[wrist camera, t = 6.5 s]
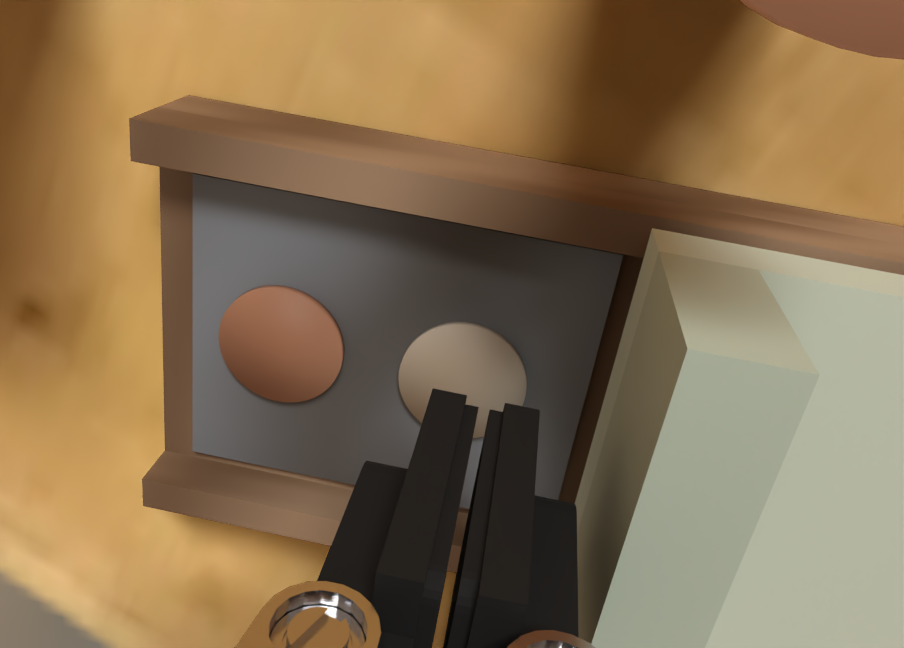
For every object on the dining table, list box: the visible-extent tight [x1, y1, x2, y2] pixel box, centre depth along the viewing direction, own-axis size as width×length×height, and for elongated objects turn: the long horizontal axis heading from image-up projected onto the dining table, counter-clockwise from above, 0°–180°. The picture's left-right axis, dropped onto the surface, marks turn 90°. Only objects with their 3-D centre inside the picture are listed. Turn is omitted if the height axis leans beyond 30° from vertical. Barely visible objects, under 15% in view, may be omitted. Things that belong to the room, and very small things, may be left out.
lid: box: [575, 228, 904, 648], centre depth 12 cm, size 8×8×4 cm
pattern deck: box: [129, 95, 904, 573], centre depth 15 cm, size 17×8×2 cm, turn 81°
